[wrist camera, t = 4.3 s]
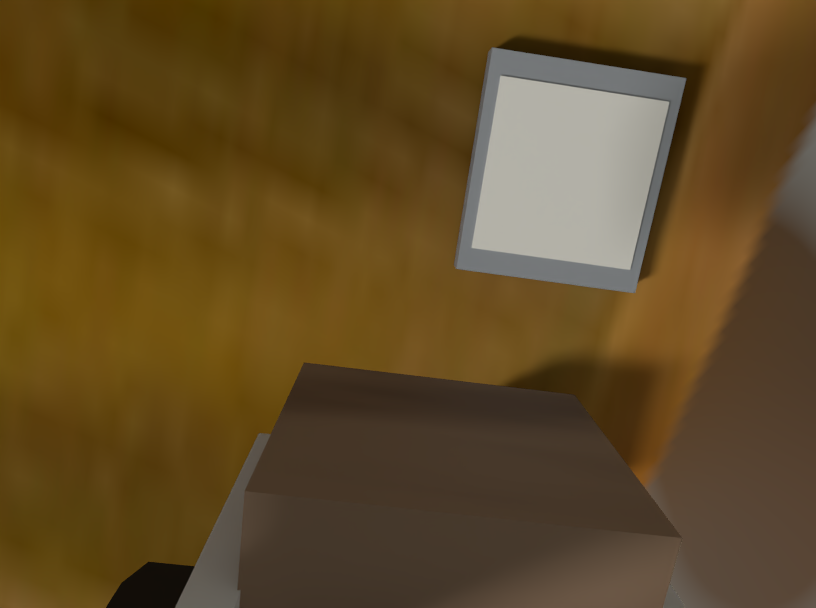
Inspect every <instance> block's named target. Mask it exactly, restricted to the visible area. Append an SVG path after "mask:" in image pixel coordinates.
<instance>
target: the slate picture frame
mask: <svg viewBox="0 0 816 608" xmlns="http://www.w3.org/2000/svg"><path fill="white" fill-rule="evenodd" d="M685 82H686V78H682V77H676V76H669V75H663V74H657V73H650V72H644V71H638V70H631V69H625V68H619V67H612V66H606V65H600V64H593V63H587V62H581V61H575V60H568V59H562V58H556V57H549V56H543V55H537V54H530V53H524V52H518V51H511V50H505V49H499V48H492V49H491V50H490V51H489V52H488V58H487V64H486V70H485V77H484V83H483V89H482V95H481V101H480V107H479V114H478V120H477V126H476V132H475V138H474V145H473V151H472V157H471V163H470V169H469V175H468V182H467V188H466V194H465V200H464V206H463V212H462V219H461V225H460V231H459V237H458V243H457V249H456V256H455V262H454V266H455V267H456V269H462V270H469V271H476V272H484V273H491V274H498V275H506V276H513V277H520V278H528V279H535V280H542V281H550V282H557V283H564V284H572V285H579V286H586V287H594V288H601V289H608V290H616V291H623V292H630V293H635V291H636V287H637V283H638V278H639V274H640V270H641V266H642V262H643V258H644V253H645V249H646V245H647V241H648V237H649V232H650V228H651V224H652V220H653V216H654V212H655V207H656V203H657V199H658V195H659V191H660V186H661V182H662V178H663V174H664V170H665V166H666V161H667V157H668V153H669V149H670V145H671V140H672V136H673V132H674V128H675V124H676V119H677V115H678V111H679V107H680V103H681V99H682V94H683V90H684V86H685Z"/></svg>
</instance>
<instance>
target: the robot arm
mask: <svg viewBox="0 0 816 608" xmlns="http://www.w3.org/2000/svg"><path fill="white" fill-rule="evenodd" d="M270 435H271V434H262V433H259V434H258V437H257V439H256V441H255V443H254V445H253V447H252V449H251V451H250V453H249V455H248V457H247V459H246V461H245V463H244V466H243V468H242V470H241V472H240V474H239V476H238V478H237V480H236V482H235V484H234V486H233V488H232V490H231V493H230V495H229V497H228V499H227V501H226V503H225V505H224V507H223V509H222V511H221V513H220V515H219V517H218V520H217V522H216V524H215V526H214V528H213V530H212V532H211V534H210V536H209V538H208V540H207V542H206V544H205V547H204V549H203V551H202V553H201V555H200V557H199V559H198V561H197V563H196V565H195V566H185V565H175V564H165V563H155V562H148V563H146V564H145V565H144V566H143V567H141V568H140V569H139V570H138V571H136V572H135V573H134V574H132V575H131V576H130V577H129V578H127V579H126V580H125V581H123V582H122V583H121V585H120V586H119V588H118V589H117V591H116V593H115V594H114V596H113V597H112V599H111V600H110V602H109V604H108V605H107V607H106V608H239V603H240V591H241V590H237V587H238V573H239V559H240V546H241V532H242V518H243V504H244V491H245V489H246V487H247V485H248V482H249V480H250V478H251V476H252V474H253V472H254V469H255V467H256V465H257V463H258V461H259V459H260V457H261V454H262V452H263V450H264V448H265V446H266V444H267V442H268V439H269V437H270ZM663 608H686V607H685V605H684V604H683V602H682V601H681V599H680V598H679V596H678V594H677V593H676V591H675V590H674V589H673V587H672V585H671V584H669V588H668V591H667V595H666V598H665V602H664V605H663Z"/></svg>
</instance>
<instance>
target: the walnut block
mask: <svg viewBox="0 0 816 608" xmlns="http://www.w3.org/2000/svg"><path fill="white" fill-rule="evenodd" d="M681 542H682V537H681V536H680V534H679V533H678V532H677V530H676V529H675V528H674V526H673V525H672V524H671V522H670V521H669V520H668V518H666V516H665V514H664V513H663V512H662V510H661V509H660V508H659V506H658V505H657V504H656V502H655V501H654V500H653V498H652V497H651V496H650V495H649V493H648V492H647V490H646V489H645V488H644V486H643V485H642V484H641V483H640V481H639V480H638V479H637V477H636V476H635V475H634V473H633V472H632V471H631V469H630V468H629V467H628V465H627V464H626V463H625V461H624V460H623V459H622V457H621V456H620V455H619V453H618V452H617V451H616V449H615V448H614V447H613V445H612V444H611V443H610V441H609V440H608V439H607V437H606V436H605V435H604V433H603V432H602V431H601V429H600V428H599V427H598V425H597V424H596V423H595V421H594V420H593V419H592V417H591V416H590V415H589V414H588V412H587V411H586V410H585V408H584V407H583V406H582V404H581V403H580V402H579V400H578V399H577V398H576V396H575V395H572V394H564V393H555V392H547V391H538V390H530V389H522V388H513V387H505V386H496V385H488V384H480V383H471V382H463V381H454V380H446V379H437V378H429V377H421V376H412V375H404V374H395V373H387V372H379V371H370V370H362V369H353V368H345V367H336V366H328V365H320V364H311V363H304V364H303V366H302V368H301V371H300V373H299V375H298V377H297V379H296V381H295V383H294V386H293V388H292V390H291V392H290V394H289V396H288V398H287V401H286V403H285V405H284V407H283V409H282V411H281V414H280V416H279V418H278V420H277V422H276V424H275V426H274V429H273V431H272V433H271V435H270V437H269V439H268V442H267V444H266V446H265V448H264V450H263V452H262V454H261V457H260V459H259V461H258V463H257V465H256V467H255V469H254V472H253V474H252V476H251V478H250V480H249V482H248V485H247V487H246V489H245V491H244V504H243V518H242V532H241V546H240V559H239V573H238V587H237V590H241V591H240V603H239V608H663V605H664V602H665V598H666V595H667V591H668V588H669V584H670V581H671V577H672V573H673V570H674V566H675V563H676V559H677V556H678V552H679V548H680V545H681Z"/></svg>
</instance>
